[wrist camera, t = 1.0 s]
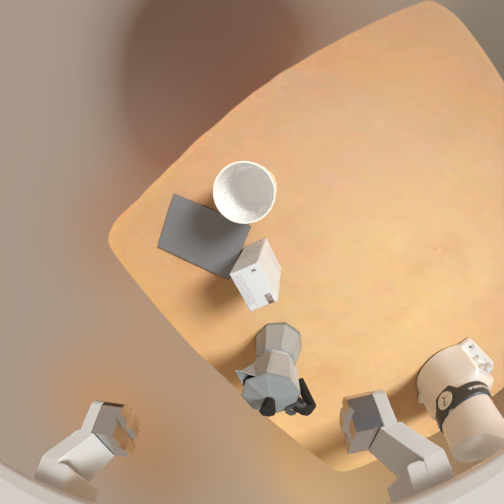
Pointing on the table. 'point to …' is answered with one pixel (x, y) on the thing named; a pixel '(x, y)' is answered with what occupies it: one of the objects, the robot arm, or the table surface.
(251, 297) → the skincare box
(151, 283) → the table surface
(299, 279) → the table surface
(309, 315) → the table surface
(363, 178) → the table surface
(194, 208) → the mat
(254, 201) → the white cup
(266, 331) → the coffee maker
